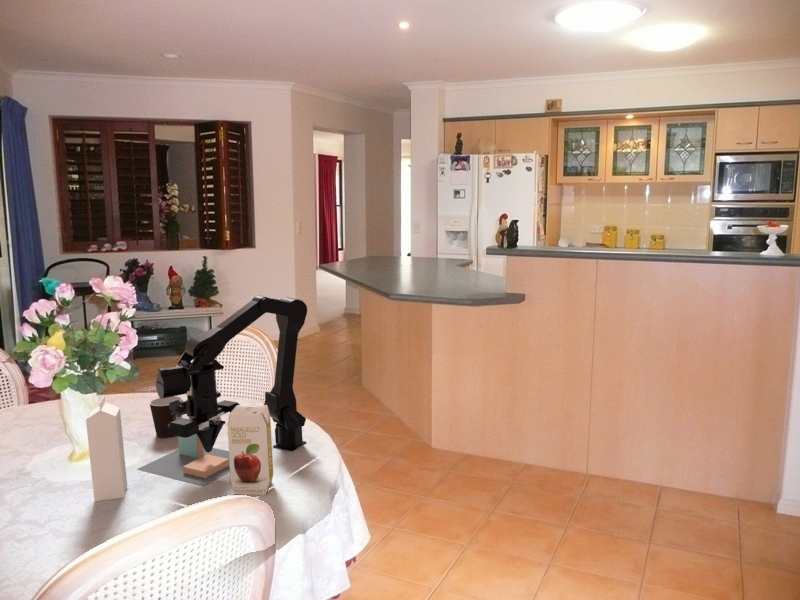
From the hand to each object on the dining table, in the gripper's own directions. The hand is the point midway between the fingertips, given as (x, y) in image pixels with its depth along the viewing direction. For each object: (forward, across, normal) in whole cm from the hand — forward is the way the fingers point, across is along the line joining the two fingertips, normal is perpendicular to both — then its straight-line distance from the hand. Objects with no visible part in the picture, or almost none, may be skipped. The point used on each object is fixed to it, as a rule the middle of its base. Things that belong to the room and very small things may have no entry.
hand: (208, 451), depth 150 cm
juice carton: (+5, +4, +17) cm, 18 cm away
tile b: (+4, -4, -10) cm, 11 cm away
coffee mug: (+5, -14, -27) cm, 31 cm away
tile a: (+3, -3, 0) cm, 4 cm away
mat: (+4, -1, -5) cm, 7 cm away
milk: (+5, +19, -11) cm, 23 cm away
